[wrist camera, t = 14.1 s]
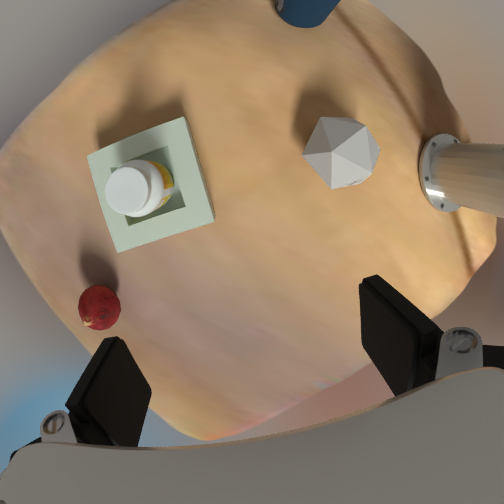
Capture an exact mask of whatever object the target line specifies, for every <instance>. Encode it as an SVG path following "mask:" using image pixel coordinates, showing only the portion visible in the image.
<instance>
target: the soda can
mask: <svg viewBox="0 0 504 504" xmlns="http://www.w3.org/2000/svg"><path fill="white" fill-rule="evenodd" d="M339 2H340V0H276V3H275V7H276V11H277V13H278V14H279V16H280V17H281V18H282V19H283V20H284V21H285V22H287V23H288V24H290V25H292V26H295V27H300V28H312V27H316V26H318V25H320V24H322V23H323V22H324V20H325V19H326V18H327V16H328V15H329V14H330V13H331V11H332V10H333V9H334V8H335V6H336V5H337V4H338V3H339Z"/></svg>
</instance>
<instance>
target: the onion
mask: <svg viewBox="0 0 504 504" xmlns="http://www.w3.org/2000/svg"><path fill="white" fill-rule="evenodd" d="M78 310H79V314H80V317H81V319H82V321H83V324H84V325H85V326H88V327H90V328H92V329H94V330H105V329H108V328H110V327H111V326H112V325H113V324H115V323H116V321H117V320H118V317H119V314H120V312H121V307H120V301H119V299H118V297H117V295H116V294H115V293H114V292H113V291H112V290H111V289H109V288H107V287H105V286H102V285H94V286H92V287H89V288H87V289H86V290H85V291H84V292H83V293H82V295H81V296H80V298H79V305H78Z"/></svg>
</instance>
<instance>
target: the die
mask: <svg viewBox="0 0 504 504" xmlns="http://www.w3.org/2000/svg"><path fill="white" fill-rule="evenodd" d="M379 152H380V147H379V146H378V144H377V142H376V141H375V139H374V138H373V136H372V135H371V133H370V131H369V130H368V128H367V127H366V126H365V125H364V124H362V123H360V122H358V121H357V120H355V119H353V118H348V117H320V119H319V121H318V123H317V125H316V127H315V129H314V131H313V133H312V135H311V137H310V139H309V141H308V143H307V145H306V147H305V149H304V151H303V153H302V155H301V156H302V157H303V158H304V159H305V160H306V161H307V162H308V163H309V164H310V166H311V167H312V168H313V169H314V170H315V171H316V172H317V173H318V175H319V176H320V177H321V178H322V179H323V180H324V181H325V183H326V184H327V185H328V186H329V187H330V188H331V189H335V188H340V187H346V186H351V185H356V184H361V183H362V182H363V181H364V180H365V179H366V178H367V177H368V176H369V175H371V174H372V172H373V169H374V166H375V164H376V161H377V158H378V155H379Z"/></svg>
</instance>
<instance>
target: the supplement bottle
mask: <svg viewBox="0 0 504 504" xmlns="http://www.w3.org/2000/svg"><path fill="white" fill-rule="evenodd" d="M174 188H175V182H174V177H173V175H172V173H171V171H170V170H169V169H168V168H167V167H166V166H165V165H164V164H162V163H159V162H154V161H145V160H132V161H128V162H126V163H124V164H123V165H121V166H120V167H119V168H118V169H117V170H115V171H114V172H113V173H112V174H111V175H110V176H109V178H108V180H107V182H106V185H105V197H106V200H107V202H108V204H109V206H110V207H111V208H112V209H113V210H115V211H116V212H118V213H121V214H125V215H127V216H131V217H141V216H145V215H147V214H149V213H151V212H153V211H154V210H156V209H158V208H159V207H161V206H163V205H164V204H166V203H167V202H168V201H169V200H170V198H171V197H172V195H173V192H174Z"/></svg>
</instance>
